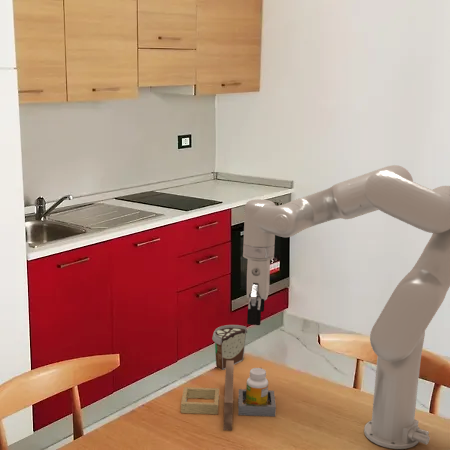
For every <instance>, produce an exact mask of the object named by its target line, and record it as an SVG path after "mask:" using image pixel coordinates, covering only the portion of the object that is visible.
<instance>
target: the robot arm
mask: <svg viewBox="0 0 450 450" xmlns="http://www.w3.org/2000/svg"><path fill="white" fill-rule="evenodd" d="M376 211H381V212H382V213H384V214H386V215H388V216H391V217H392V218H394V219H397V220H399V221H401V222H403V223H405V224H407V225H410V226H412V227H413V228H416V229H419V230H420V231H423V232H426V233H431V234H432V235H431V237H430V238H429V240H428V242H427V244H426V245H425V247H424V249H423V250H422V253H421V254H420V256H419V258H418V259H417V261H416V262H415V265H414V266H413V267H412V268H411V270H410V271H409V272H408V273H407V274H406V275H405V276H404V277H403V278H402V279H401V280H400V281H399V283H398V284H397V285H396V287H395V288H394V290H393V291H392V293H391V294H390V297H389V298H388V300H387V301H386V304H385V306H383V309H382V310H381V313H380V314H379V316H378V318H377V319H376V320H375V323H374V324H373V326H372V328H371V331H370V335H369V343H370V346H371V349H372V351H373V352H374V354H375V355H376V356H377V358H376V369H375V376H374V377H375V379H374V388H373V389H374V390H373V391H374V392H373V400H372V402H373V403H372V411H371V412H372V413H371V415H372V416H371V420H370V421H368V422H367V423H366V424H364V428H363V433H364V435H365V437H366V438H367V439H368V440H369V441H370V442H372V443H373V444H376V445H378V446H380V447H384V448H387V449H394V450H404V449H405V450H406V449H410V448H413V447H415V446H416V445H418V444H419V443H421V444H424V445H426V446H427V445H428V444H429V442H430V436H429V433H430V432H429V431H428V430H425V429H421V428H420V427H419V420H418V419H415V418H416V407H417V396H418V386H419V378H420V368H421V360H422V354H423V353H422V352H423V347H424V342H425V336H426V330H427V328H428V327H429V325H430V323H431V322H432V320H433V318H434V317H435V315H436V314H437V312H438V310H439V309H440V308H441V306H442V304H443V302H444V301H445V298H446V295H447V293H448V291H449V289H450V185H441V186H437V187H435V188H434V189H431V188H428V187H426V186H424V185H421V184H419V183H416V182H414V180H413V177H412V174H411V173H410V172H409V170H408V169H406V168H405V167H403V166H400V165H395V164H394V165H387V166H385V167H381V168H378V169H376V170H372V171H370V172H368V173H364V174H361V175H358V176H356V177H353V178H350V179H347V180H343V181H341V182H338V183H336V184H333V185H332V186H330V187H328V188H326V189H323V190H320V191H317V192H314V193H311V194H308V195H306V196H302V197H300V198H296V199H293V200H291V201H289V202H287V203H286V202H285V203H283V204H279V205H276V203H275V202H274V201H272V200H268V199H249V200H248V201H246V203H245V205H244V220H243V221H244V223H243V224H244V226H243V245H242V246H243V247H242V248H243V250H242V251H243V252H242V257H243V258H244V259H247V262H246V263H247V266H246V267H247V268H246V269H247V270H246V298H247V299H248V305H247V307H248V308H247V315H246V318H247V319H246V324H247V325H249V326H250V325H251V326H260V325H261V321H262V320H261V318H262V313H263V312H264V311H265V302H266V300H267V299H268V296H269V294H270V276H271V275H270V274H271V260H273V259H274V258H275V240H276V236H277V237H282V238H290V237H294V236H296V235H297V234H299V233H301V232H302V231H304V230H306V229H309V228H311V227H315V226H317V225H321V224H324V223H328V222H331V221H333V220H338V219H343V220H352V219H354V218H357V217H361V216H363V215H366V214H369V213H372V212H376Z"/></svg>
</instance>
